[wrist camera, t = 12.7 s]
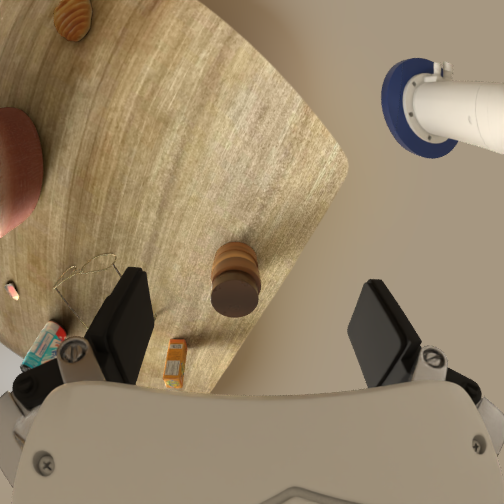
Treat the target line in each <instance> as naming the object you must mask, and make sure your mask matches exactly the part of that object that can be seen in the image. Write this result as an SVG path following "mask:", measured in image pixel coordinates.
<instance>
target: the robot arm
mask: <svg viewBox="0 0 504 504" xmlns="http://www.w3.org/2000/svg"><path fill="white" fill-rule="evenodd" d="M452 74H453V65H452V64H451V63H449V62H443V77H441V64H440V63H437V62H435V63H434V74H429V73H421V74H417V75H415V76H413V77H412V78H411V79H410V80H409V81H408V82H407V84H406V86H405V88H404V92H403V109H404V114H405V117H406V120H407V122H408V124H409V126H410V128H411V129H412V130H413V132H414V133H415V134H416V135H417V136H418V137H419V138H421V139H422V140H424V141H427V142H430V143H442V142H444V141H446V140H447V139H448V138H450V139H454V140H458V141H462V142H465V143H469V144H472V145H475V146H479V147H482V148H485V149H489V150H492V151H494V152H497V153H500V154H504V83H496V82H482V81H481V82H480V81H453V80H452ZM153 328H154V316H153V310H152V305H151V299H150V293H149V287H148V281H147V274H146V272H145V271H142V268H139V267H128V268H127V269H126V270H125V272H124V274H123V275H122V277H121V278H120V280H119V282H118V283H117V285H116V286H115V288H114V290H113V291H112V293H111V295H109V296H108V297H107V298H106V299H105V301H104V303H103V304H102V306H101V308H100V309H99V311H98V313H97V314H96V316H95V318H94V320H93V321H92V323H91V325H90V327H89V329H88V330H87V332H86V334H85V336H84V338H83V337H80V336H73V337H69V338H67V339H65V340H64V341H63V342H61V343H60V345H59V346H58V348H57V351H56V357H57V358H55V359H52V360H50V361H48V362H46V363H43V364H41V365H39V366H36V367H34V368H32V369H30V370H27V371H25V372H23V373H21V374H19V375H18V376H17V377H16V379H15V381H14V382H13V391H12V392H11V393H10V392H9V391H7V392H5V393H4V394H3V395H2V396H1V397H0V468H1V470H2V472H3V473H4V475H5V477H6V478H7V480H8V481H9V483H10V484H11V486H12V487H13V494H12V502H11V504H504V479H503V475H502V472H501V467H500V464H499V461H498V458H497V457H498V455H499V452H500V450H501V448H502V446H503V444H504V414H503V413H502V412H501V411H500V410H499V409H498V408H497V407H496V406H494V405H493V404H492V403H491V402H490V401H489V400H488V399H487V398H485V397H483V398H481V390H480V387H479V386H478V384H477V383H476V382H474V381H473V380H471V379H469V378H467V377H465V376H463V375H461V374H459V373H458V372H456V371H454V370H452V369H450V368H448V367H447V366H448V360H447V357H446V355H445V354H444V353H443V352H442V351H441V350H440V349H439V348H437V347H434V346H424V347H423V348H421V346H420V344H421V342H422V341H421V339H420V338H419V336H418V334H417V333H416V331H415V330H414V328H413V326H412V325H411V323H410V322H409V320H408V318H407V317H406V315H405V314H404V312H403V311H402V309H401V308H400V306H399V305H398V303H397V302H396V300H395V299H394V297H393V296H392V294H391V293H390V291H389V290H388V288H387V287H386V285H385V284H384V282H383V281H382V280H379V279H378V280H377V279H370V280H368V281H367V282H366V283H365V284H364V285H363V288H362V291H361V294H360V297H359V299H358V302H357V305H356V307H355V310H354V313H353V315H352V318H351V321H350V323H349V325H348V329H347V330H348V331H347V332H348V336H349V339H350V341H351V343H352V346H353V349H354V351H355V354H356V357H357V359H358V362H359V365H360V367H361V370H362V373H363V375H364V378H365V381H366V383H367V386H368V388H366V389H359V390H351V391H342V392H332V393H320V394H305V395H282V396H281V395H280V396H246V395H245V396H244V395H220V394H205V393H193V392H183V391H175V390H166V389H158V388H150V387H144V386H137V385H136V381H137V378H138V374H139V371H140V368H141V365H142V362H143V358H144V355H145V352H146V349H147V346H148V343H149V340H150V337H151V334H152V331H153Z"/></svg>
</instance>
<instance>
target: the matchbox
mask: <svg viewBox="0 0 504 504" xmlns="http://www.w3.org/2000/svg"><path fill="white" fill-rule="evenodd" d="M12 283H13V282H12ZM13 285H14V284H13ZM13 285H12V284H8V285H6V286H5V289H6V291H7V292H8V295H10V296H11V297H14V299H15V300H18V298H17V297H19V296H18V294H17V292H16V291H15V289H14V287H13Z"/></svg>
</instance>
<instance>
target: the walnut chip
mask: <svg viewBox="0 0 504 504" xmlns="http://www.w3.org/2000/svg"><path fill="white" fill-rule="evenodd" d="M211 304H212V306H213V307H214V309H215V310H216V311H217V312H219V313H220V314H222V315H224V316H227V317H233V318H236V317H243V316H246V315H248V314H250V313H251V312H252V311H253V310H254V309H255V308H256V306H257V304H258V288H257V283H256V281H255V279H254V278H253V277H252V276H251V275H250V274H248V273H247V272H244V271H241V270H227V271H224V272H222V273H221V274H219V275H218V276H217V277H216V278H215V279H214V281H213V284H212V290H211Z"/></svg>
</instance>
